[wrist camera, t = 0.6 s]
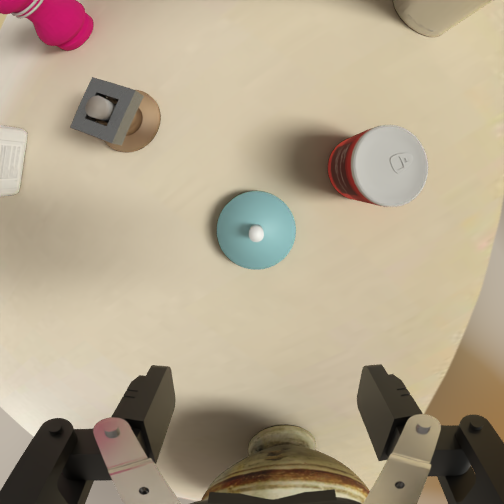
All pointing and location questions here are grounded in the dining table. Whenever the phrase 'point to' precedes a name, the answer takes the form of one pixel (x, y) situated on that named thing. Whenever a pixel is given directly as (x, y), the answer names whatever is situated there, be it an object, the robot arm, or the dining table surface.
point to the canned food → (379, 166)
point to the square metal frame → (120, 116)
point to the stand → (140, 127)
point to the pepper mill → (53, 20)
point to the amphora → (287, 468)
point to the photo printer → (11, 158)
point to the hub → (256, 230)
